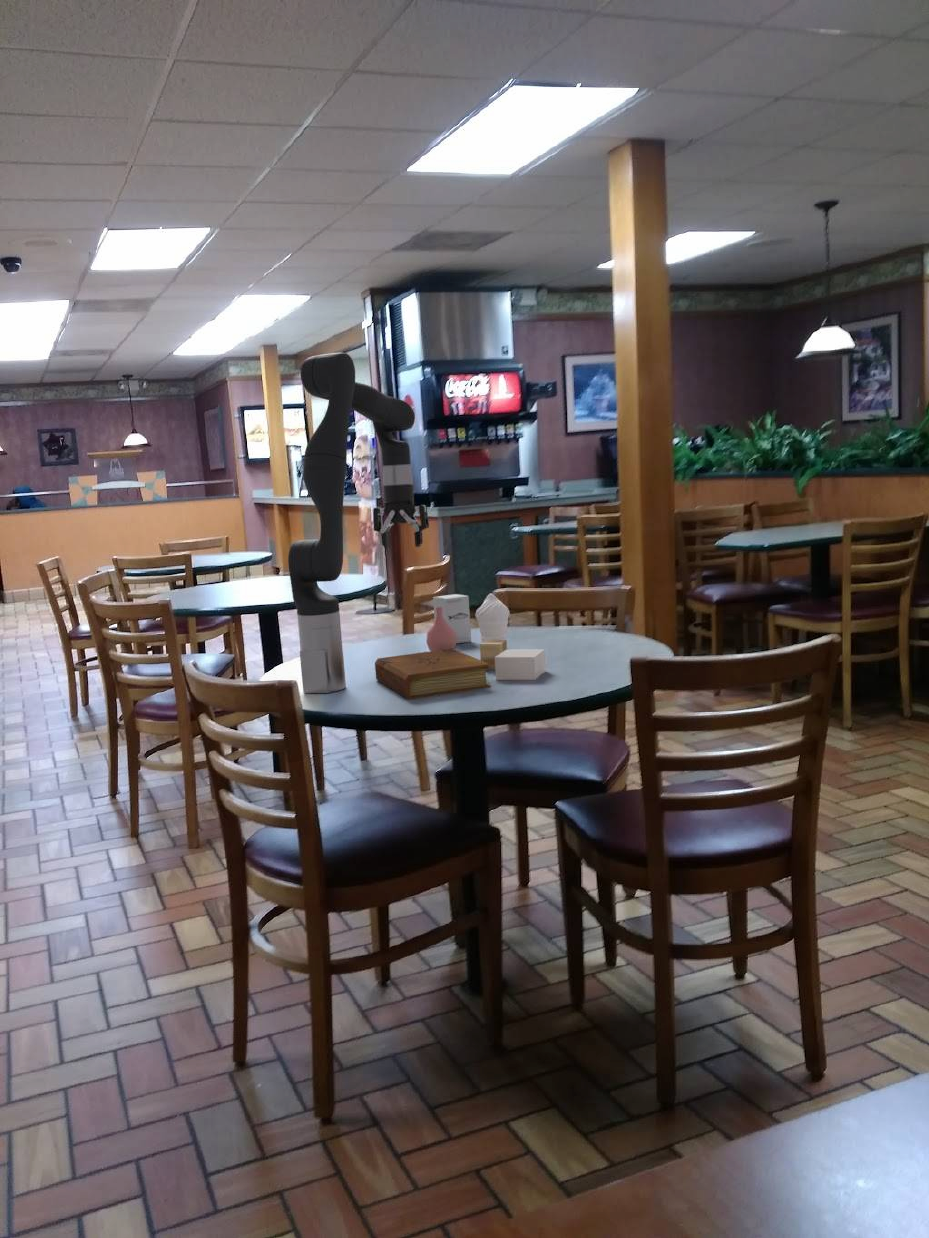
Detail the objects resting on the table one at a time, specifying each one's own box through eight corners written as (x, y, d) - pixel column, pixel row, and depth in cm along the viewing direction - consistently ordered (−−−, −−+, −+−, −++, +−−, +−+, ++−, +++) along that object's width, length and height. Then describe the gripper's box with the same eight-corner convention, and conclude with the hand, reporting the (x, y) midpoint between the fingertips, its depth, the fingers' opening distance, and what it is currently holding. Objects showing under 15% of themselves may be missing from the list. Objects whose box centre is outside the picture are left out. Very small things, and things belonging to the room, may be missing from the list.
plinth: (535, 679, 221) (534, 657, 221) (496, 679, 224) (494, 657, 224) (546, 671, 230) (544, 649, 229) (507, 671, 233) (506, 649, 232)
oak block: (501, 669, 235) (500, 644, 235) (481, 669, 237) (479, 644, 236) (508, 665, 240) (506, 640, 239) (487, 665, 242) (486, 640, 241)
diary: (376, 683, 232) (374, 658, 232) (453, 672, 239) (451, 648, 238) (407, 701, 211) (404, 674, 210) (490, 689, 217) (488, 662, 217)
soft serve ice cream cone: (512, 660, 245) (508, 594, 242) (478, 663, 245) (473, 596, 242) (512, 654, 253) (508, 590, 250) (478, 656, 253) (474, 592, 251)
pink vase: (459, 650, 263) (455, 604, 261) (455, 656, 256) (452, 608, 254) (429, 652, 264) (426, 606, 262) (425, 657, 256) (421, 610, 255)
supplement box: (448, 645, 272) (444, 598, 270) (435, 642, 278) (432, 596, 276) (472, 641, 275) (469, 595, 273) (459, 638, 282) (456, 593, 280)
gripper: (366, 485, 258) (371, 549, 260) (419, 482, 253) (423, 547, 255) (377, 484, 265) (382, 547, 267) (429, 481, 260) (433, 544, 262)
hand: (402, 547), depth 261 cm, fingers open, 8 cm apart
